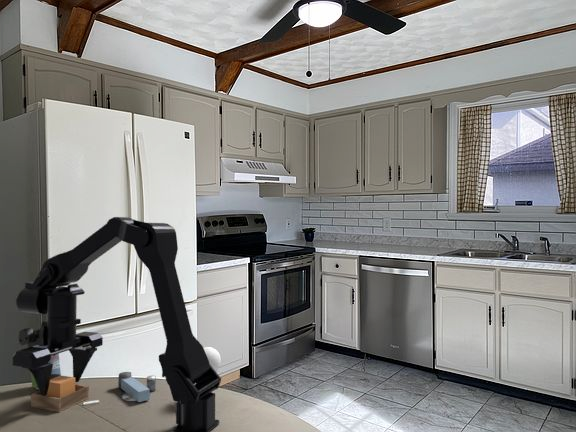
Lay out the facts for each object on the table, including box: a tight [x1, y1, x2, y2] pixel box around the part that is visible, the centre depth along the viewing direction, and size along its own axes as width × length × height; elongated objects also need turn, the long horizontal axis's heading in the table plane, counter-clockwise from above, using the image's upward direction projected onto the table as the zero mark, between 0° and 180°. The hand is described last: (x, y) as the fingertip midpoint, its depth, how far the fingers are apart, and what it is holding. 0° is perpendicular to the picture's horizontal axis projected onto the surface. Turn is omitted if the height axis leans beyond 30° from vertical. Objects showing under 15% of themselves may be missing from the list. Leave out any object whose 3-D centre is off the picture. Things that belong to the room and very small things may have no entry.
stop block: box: [46, 375, 76, 398], centre depth 95 cm, size 4×4×4 cm
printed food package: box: [30, 345, 62, 390], centre depth 104 cm, size 6×7×12 cm
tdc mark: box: [83, 399, 100, 406], centre depth 94 cm, size 3×1×1 cm, turn 115°
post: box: [146, 375, 157, 393], centre depth 102 cm, size 2×2×3 cm
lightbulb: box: [203, 346, 222, 373], centre depth 98 cm, size 6×6×11 cm
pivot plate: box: [121, 392, 138, 402], centre depth 98 cm, size 6×6×1 cm
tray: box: [30, 383, 90, 413], centre depth 95 cm, size 8×8×3 cm
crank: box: [117, 371, 151, 403], centre depth 100 cm, size 13×3×3 cm, turn 40°
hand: (60, 388), depth 95 cm, fingers open, 8 cm apart
